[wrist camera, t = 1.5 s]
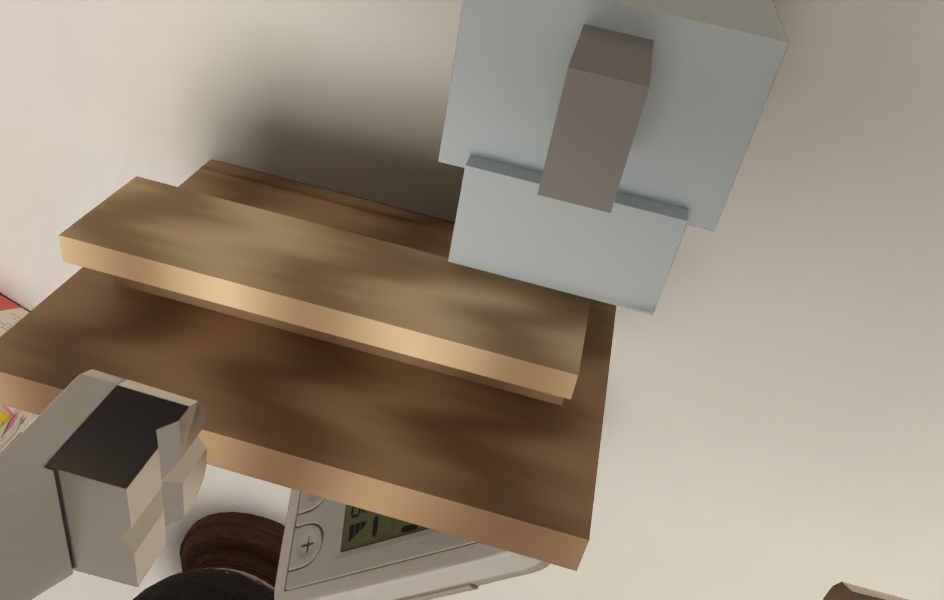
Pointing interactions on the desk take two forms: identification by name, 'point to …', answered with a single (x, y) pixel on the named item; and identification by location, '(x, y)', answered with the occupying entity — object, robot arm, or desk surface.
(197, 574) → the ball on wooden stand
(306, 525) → the digital clock
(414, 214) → the stepped wooden block
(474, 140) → the grey-blue stepped cube
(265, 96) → the desk surface
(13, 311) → the ink cartridge box
